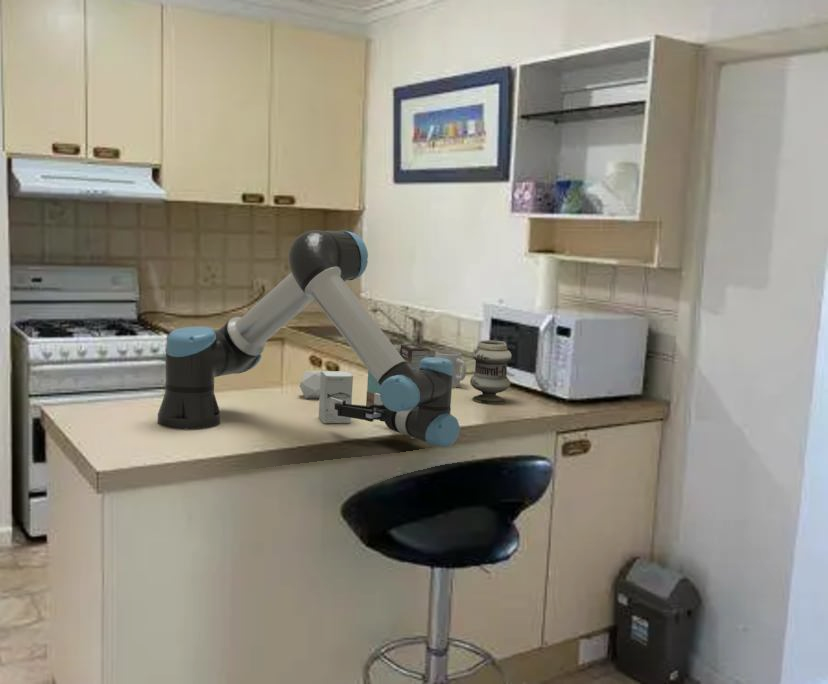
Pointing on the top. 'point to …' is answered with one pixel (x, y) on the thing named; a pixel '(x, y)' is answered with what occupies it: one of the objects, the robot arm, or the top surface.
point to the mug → (454, 365)
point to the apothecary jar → (490, 371)
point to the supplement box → (334, 394)
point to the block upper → (372, 384)
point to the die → (311, 384)
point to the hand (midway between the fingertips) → (353, 400)
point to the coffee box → (414, 355)
